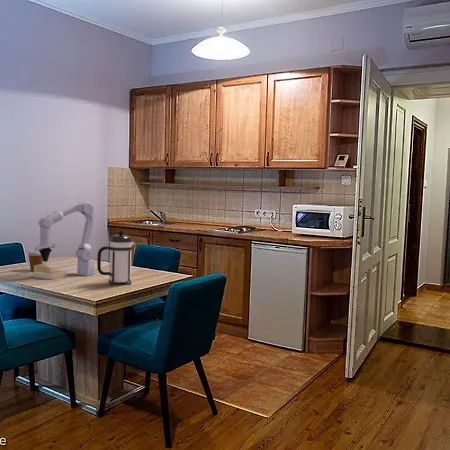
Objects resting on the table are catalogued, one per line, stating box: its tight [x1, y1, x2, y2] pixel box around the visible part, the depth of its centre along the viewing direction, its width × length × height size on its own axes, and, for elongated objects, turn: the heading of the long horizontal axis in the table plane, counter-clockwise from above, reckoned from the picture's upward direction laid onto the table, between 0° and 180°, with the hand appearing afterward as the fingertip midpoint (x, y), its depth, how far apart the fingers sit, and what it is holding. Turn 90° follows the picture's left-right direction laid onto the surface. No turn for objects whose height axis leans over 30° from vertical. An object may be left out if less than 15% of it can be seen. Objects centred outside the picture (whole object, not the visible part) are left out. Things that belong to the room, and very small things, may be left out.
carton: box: [32, 269, 67, 281], centre depth 286 cm, size 14×12×3 cm
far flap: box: [33, 262, 48, 272], centre depth 288 cm, size 4×11×1 cm
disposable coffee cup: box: [27, 250, 44, 272], centre depth 303 cm, size 10×10×12 cm
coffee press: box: [96, 230, 136, 286], centre depth 273 cm, size 17×16×30 cm
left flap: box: [36, 266, 52, 273], centre depth 280 cm, size 10×4×1 cm
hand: (45, 261), depth 281 cm, fingers closed
